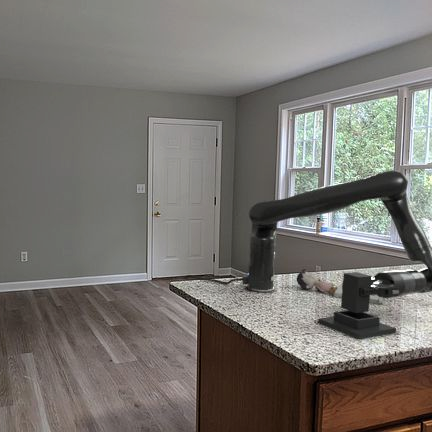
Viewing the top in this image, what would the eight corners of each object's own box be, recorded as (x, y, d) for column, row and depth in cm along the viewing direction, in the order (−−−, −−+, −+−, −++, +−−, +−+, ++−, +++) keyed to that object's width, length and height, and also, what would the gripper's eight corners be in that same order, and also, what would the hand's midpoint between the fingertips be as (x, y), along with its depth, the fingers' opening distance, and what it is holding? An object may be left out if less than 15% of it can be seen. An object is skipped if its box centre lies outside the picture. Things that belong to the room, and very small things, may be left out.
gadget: (379, 304, 146) (380, 293, 146) (332, 296, 155) (333, 286, 155) (392, 291, 163) (393, 281, 163) (349, 284, 173) (350, 275, 173)
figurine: (329, 293, 154) (291, 277, 164) (329, 306, 157) (291, 289, 167) (342, 277, 159) (304, 262, 169) (341, 290, 162) (304, 275, 172)
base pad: (358, 339, 113) (359, 325, 113) (317, 322, 126) (318, 310, 126) (395, 332, 119) (396, 319, 118) (353, 317, 132) (353, 305, 131)
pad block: (355, 313, 118) (358, 277, 117) (340, 307, 123) (343, 273, 122) (368, 311, 120) (371, 276, 119) (353, 306, 125) (356, 272, 124)
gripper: (373, 266, 133) (331, 270, 127) (418, 276, 120) (374, 281, 113) (371, 290, 134) (330, 296, 127) (416, 302, 121) (373, 309, 114)
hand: (351, 289), depth 120 cm, fingers closed on pad block, 5 cm apart
